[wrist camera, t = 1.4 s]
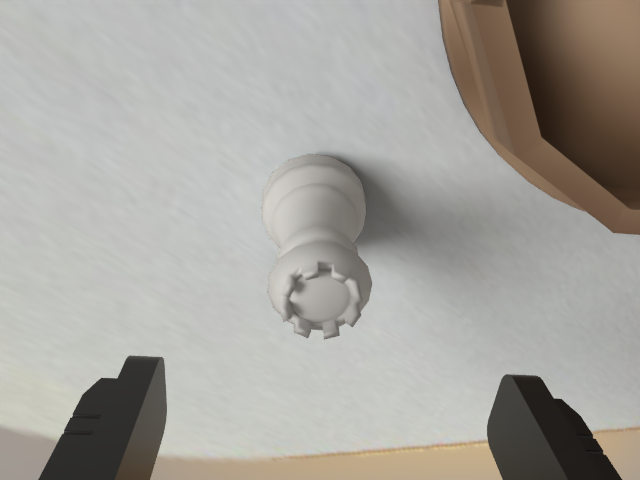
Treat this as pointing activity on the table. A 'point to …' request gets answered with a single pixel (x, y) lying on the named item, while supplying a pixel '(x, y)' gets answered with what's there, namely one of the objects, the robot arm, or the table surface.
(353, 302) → the rook chess piece
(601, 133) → the ring tray
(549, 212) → the table surface
